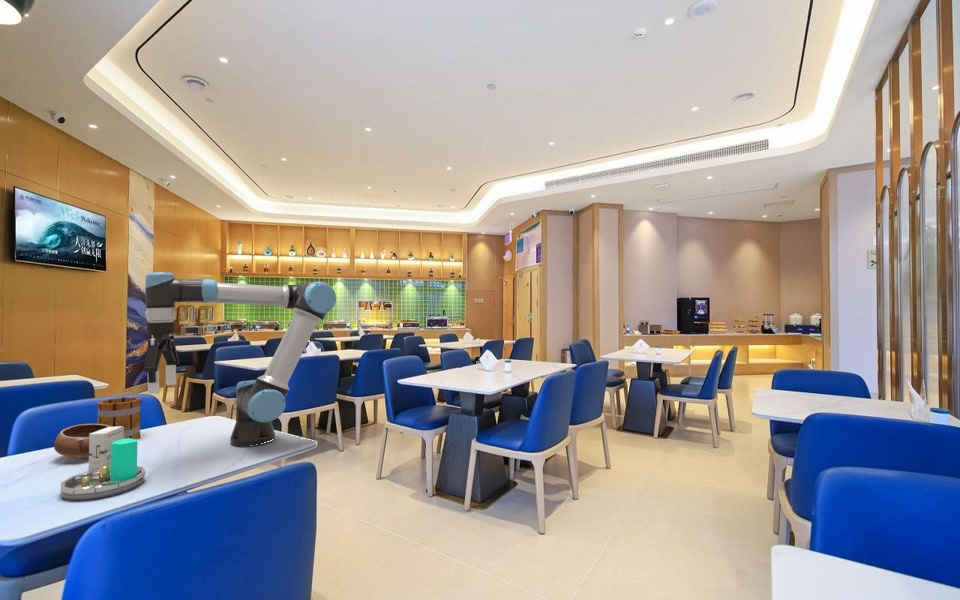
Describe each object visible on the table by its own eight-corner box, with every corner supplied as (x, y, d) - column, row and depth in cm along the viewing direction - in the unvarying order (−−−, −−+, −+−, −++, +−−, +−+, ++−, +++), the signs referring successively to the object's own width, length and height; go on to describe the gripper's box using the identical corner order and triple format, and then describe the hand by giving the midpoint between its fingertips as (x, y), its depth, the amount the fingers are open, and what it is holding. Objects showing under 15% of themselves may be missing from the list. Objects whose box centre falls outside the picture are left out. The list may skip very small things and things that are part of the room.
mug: (136, 443, 168) (137, 402, 168) (90, 447, 162) (90, 405, 163) (148, 429, 186) (149, 393, 186) (107, 433, 180) (107, 395, 180)
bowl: (72, 467, 143) (73, 435, 143) (42, 461, 148) (43, 430, 148) (126, 452, 157) (126, 423, 157) (97, 447, 163) (97, 419, 163)
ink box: (107, 462, 148) (108, 425, 148) (124, 461, 148) (124, 425, 148) (87, 471, 139) (88, 433, 139) (104, 471, 140) (105, 433, 140)
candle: (122, 483, 125) (123, 439, 125) (104, 481, 126) (105, 438, 126) (142, 475, 131) (143, 433, 131) (124, 473, 132) (125, 432, 132)
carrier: (155, 473, 138) (156, 453, 138) (123, 498, 120) (124, 475, 121) (86, 478, 134) (87, 457, 134) (43, 504, 116) (43, 480, 117)
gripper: (163, 320, 154) (165, 382, 154) (128, 324, 130) (130, 398, 130) (188, 319, 156) (190, 381, 156) (158, 323, 132) (160, 396, 132)
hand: (162, 389), depth 143 cm, fingers open, 13 cm apart
